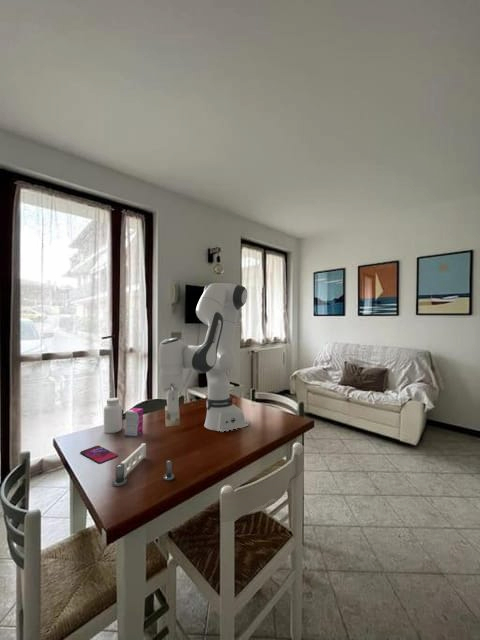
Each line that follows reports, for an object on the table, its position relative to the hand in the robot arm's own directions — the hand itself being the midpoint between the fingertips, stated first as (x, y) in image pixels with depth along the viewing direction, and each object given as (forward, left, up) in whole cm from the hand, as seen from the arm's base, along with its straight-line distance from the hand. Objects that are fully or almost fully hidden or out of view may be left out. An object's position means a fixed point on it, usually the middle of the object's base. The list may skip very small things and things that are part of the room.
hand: (172, 417), depth 106 cm
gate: (+13, +2, -15) cm, 20 cm away
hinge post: (+17, +10, -16) cm, 26 cm away
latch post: (+2, +12, -16) cm, 20 cm away
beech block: (0, 0, -2) cm, 2 cm away
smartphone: (+27, -13, -17) cm, 34 cm away
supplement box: (+15, -30, -16) cm, 37 cm away
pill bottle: (+25, -38, -16) cm, 48 cm away
